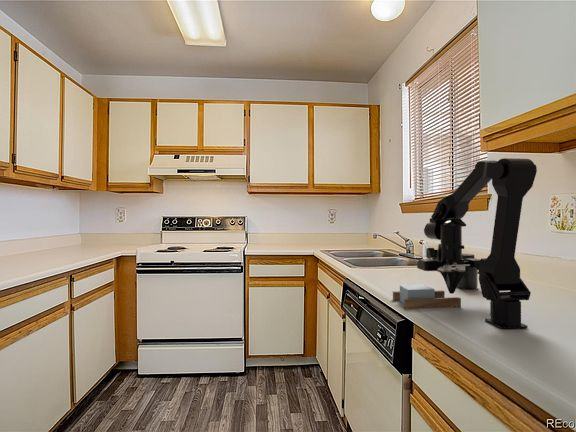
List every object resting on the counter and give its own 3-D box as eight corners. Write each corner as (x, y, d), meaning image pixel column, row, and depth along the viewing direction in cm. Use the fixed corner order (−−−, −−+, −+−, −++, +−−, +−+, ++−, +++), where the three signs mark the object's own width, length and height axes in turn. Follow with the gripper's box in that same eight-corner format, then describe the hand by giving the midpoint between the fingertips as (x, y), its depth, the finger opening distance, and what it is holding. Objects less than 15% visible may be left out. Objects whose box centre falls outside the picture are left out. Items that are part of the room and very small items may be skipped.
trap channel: (460, 307, 98) (460, 298, 98) (405, 308, 98) (405, 299, 98) (442, 298, 109) (442, 290, 109) (392, 299, 108) (392, 291, 108)
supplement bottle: (453, 287, 124) (453, 254, 123) (460, 285, 128) (459, 252, 128) (474, 290, 119) (473, 256, 119) (480, 287, 123) (480, 254, 123)
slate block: (434, 306, 100) (434, 289, 100) (407, 307, 100) (407, 289, 100) (425, 301, 106) (425, 284, 106) (399, 301, 106) (399, 285, 106)
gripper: (465, 239, 112) (466, 287, 112) (409, 239, 111) (410, 288, 111) (487, 241, 101) (487, 295, 101) (425, 242, 100) (425, 296, 100)
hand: (451, 293), depth 104 cm, fingers closed
